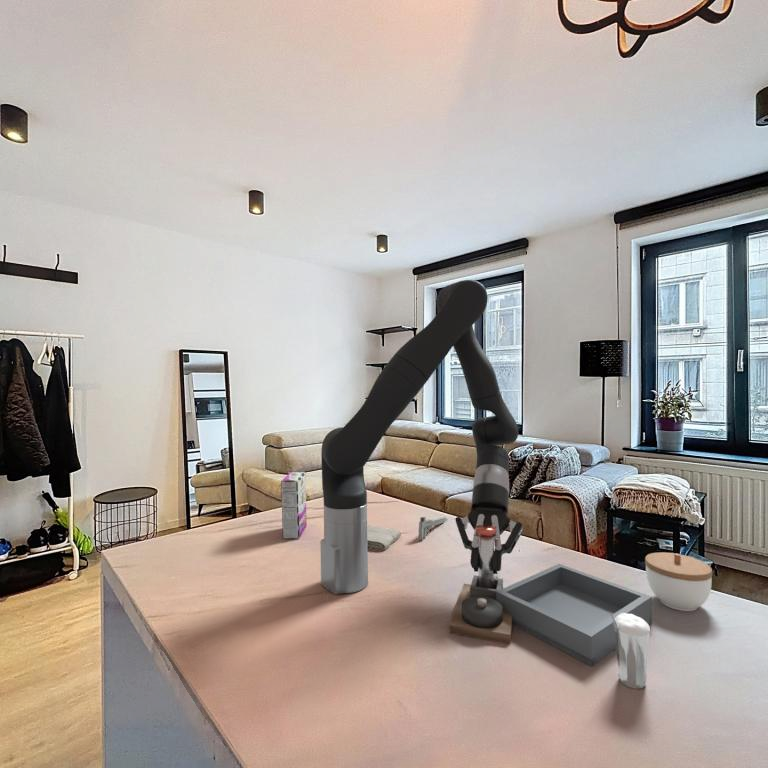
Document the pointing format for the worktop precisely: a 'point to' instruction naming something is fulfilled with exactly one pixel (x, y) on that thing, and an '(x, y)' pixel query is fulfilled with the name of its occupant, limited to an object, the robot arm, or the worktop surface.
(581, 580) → the tray
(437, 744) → the worktop surface
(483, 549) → the pin
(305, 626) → the worktop surface
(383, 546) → the washcloth
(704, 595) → the lidded jar
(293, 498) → the candy bar box
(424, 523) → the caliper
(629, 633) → the milkshake
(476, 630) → the wooden stand
